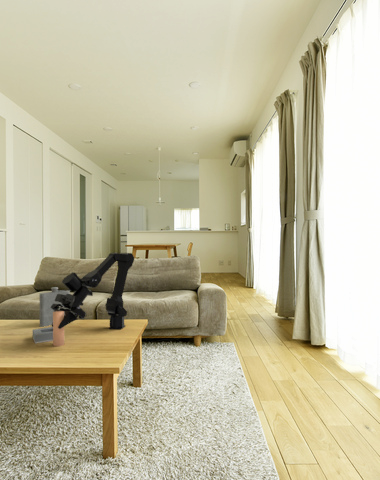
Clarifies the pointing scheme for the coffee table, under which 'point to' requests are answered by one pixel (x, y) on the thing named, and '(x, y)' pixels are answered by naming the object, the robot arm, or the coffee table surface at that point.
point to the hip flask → (49, 305)
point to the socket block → (43, 334)
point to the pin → (58, 333)
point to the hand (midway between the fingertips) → (55, 327)
